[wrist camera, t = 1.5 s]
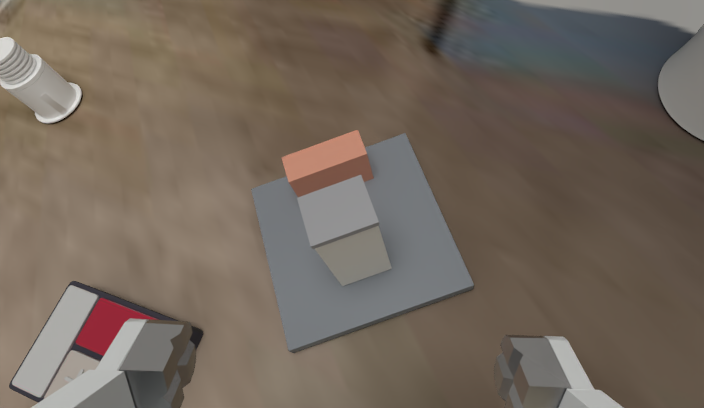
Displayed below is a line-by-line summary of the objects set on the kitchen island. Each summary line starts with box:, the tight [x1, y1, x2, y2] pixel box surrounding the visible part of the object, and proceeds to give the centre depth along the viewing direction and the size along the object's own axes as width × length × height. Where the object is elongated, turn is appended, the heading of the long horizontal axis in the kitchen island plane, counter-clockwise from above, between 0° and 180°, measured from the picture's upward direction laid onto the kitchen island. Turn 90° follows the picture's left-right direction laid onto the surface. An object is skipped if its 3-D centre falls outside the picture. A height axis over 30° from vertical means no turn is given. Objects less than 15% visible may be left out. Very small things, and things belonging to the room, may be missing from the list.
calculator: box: [9, 281, 203, 403], centre depth 44 cm, size 11×4×15 cm
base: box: [251, 130, 474, 353], centre depth 43 cm, size 18×18×6 cm
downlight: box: [0, 37, 82, 123], centre depth 58 cm, size 8×7×10 cm
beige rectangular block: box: [297, 175, 392, 286], centre depth 38 cm, size 5×4×12 cm
